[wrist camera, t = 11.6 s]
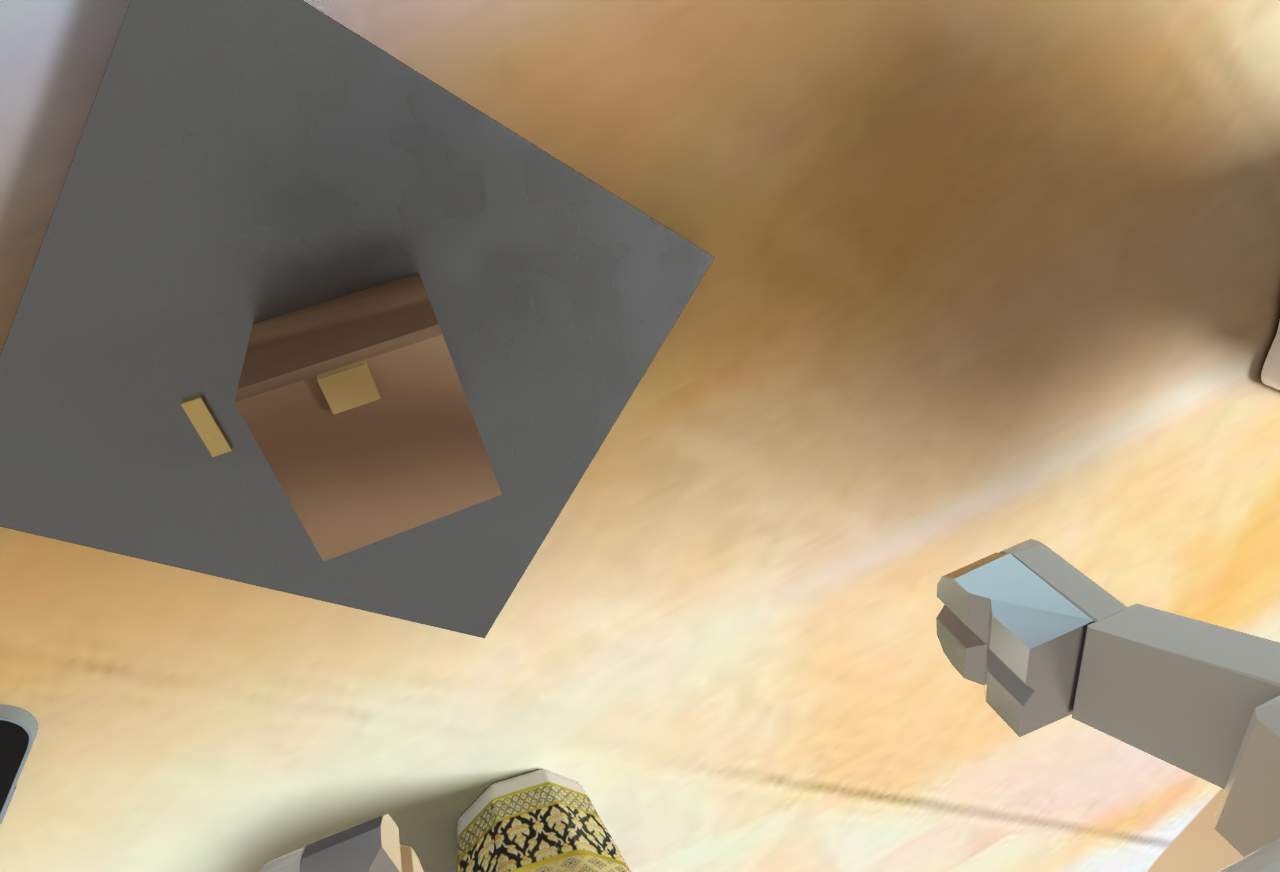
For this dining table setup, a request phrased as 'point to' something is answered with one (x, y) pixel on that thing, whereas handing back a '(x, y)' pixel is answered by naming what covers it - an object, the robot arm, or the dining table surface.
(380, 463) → the taped cardboard carton
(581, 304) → the plate
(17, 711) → the smartphone
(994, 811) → the dining table surface
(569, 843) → the ceramic cup
